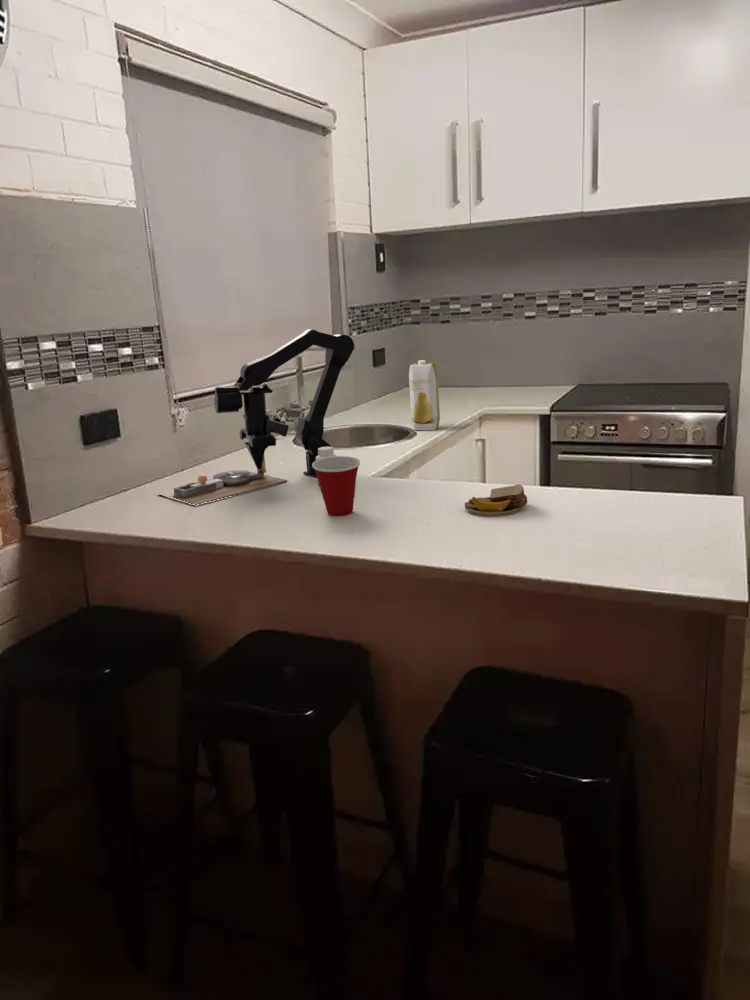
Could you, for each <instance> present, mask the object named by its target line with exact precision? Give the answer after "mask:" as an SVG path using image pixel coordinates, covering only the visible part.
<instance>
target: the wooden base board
mask: <svg viewBox="0 0 750 1000" xmlns="http://www.w3.org/2000/svg"><path fill="white" fill-rule="evenodd" d="M249 472H250V474H254V473H255V472H252V471H249ZM209 480H213V478H211V479H207V481H209ZM197 483H199V481H198V482H194V481H193V482H188V483H185V485H182V486H177V487H173V489H174V494H173V496H172V497H173V498H176V499H179V500H182V501H185V502H188V503H191V504H195V505H197V504H201V503H204V502H209V501H213V500H217V499H221V498H225V497H229V496H233V497H235V496H234V495H237V496H239V495H238V494H241V495H243V494H242V493H245V494H248V493H252V492H255V491H259V490H262V489H268V488H271V487H274V486H278V485H281V484H286V483H288V479H285V478H280V477H277V476H271V475H267V474H264V477H262V478H257V479H252V480H250V482H248V483H246V484H242V485H237V486H223V487H221V488H217V489H216V483H211V484H207V485H198V486H195V488H190V485H193V484H197ZM251 491H252V492H251ZM247 492H248V493H247ZM170 497H171V496H170Z"/></svg>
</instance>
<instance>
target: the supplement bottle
mask: <svg viewBox="0 0 750 1000" xmlns="http://www.w3.org/2000/svg"><path fill="white" fill-rule="evenodd" d="M334 451H335V450H334V447H333V446H331V447H321V448H318V456H316V460H319V459H322V458H327V457H335V456H337V454H335V453H334ZM316 478H317V477H316ZM317 485H318V488H320V484H319V481H318V478H317Z"/></svg>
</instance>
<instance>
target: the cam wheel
mask: <svg viewBox="0 0 750 1000" xmlns="http://www.w3.org/2000/svg"><path fill="white" fill-rule="evenodd" d="M256 471H257V472H253V473H254V474H250V472H251V471H249V470H244V469H243V470H242V469H241V470H240V469H237V470H226V471H223V472H222V471H221V472H218V473H215V474H214V475H213V476H212V479H213V480H214V479H220V480H223V486H237V485H242V484H246V483H248V482H250V480H252V479H257V478H262V477H264V475H265V474H266V473H267V467H266V457H265V455H264V457H263V462H262V467H261V469H257V468H256Z"/></svg>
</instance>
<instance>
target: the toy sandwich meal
mask: <svg viewBox="0 0 750 1000" xmlns="http://www.w3.org/2000/svg"><path fill="white" fill-rule="evenodd" d="M527 504H528V497H527V495H526V494H525V488H524V486H523V485H521V484H515V485H510V486H502V487H497V488H492V489H491V491H490V495H489V496H488V497H487V496H485V497H475V496H472V497H471V498H470V499H468V501H466V502H464V507H465V510H467V511H468V512H469V513H471V514H472V515H475V516H476V515H477V516H481V517H502V516H508V515H511V514H514V513H517V512H518V511H519V510H520V509H521V508H523V507H525V506H526V505H527Z"/></svg>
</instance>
